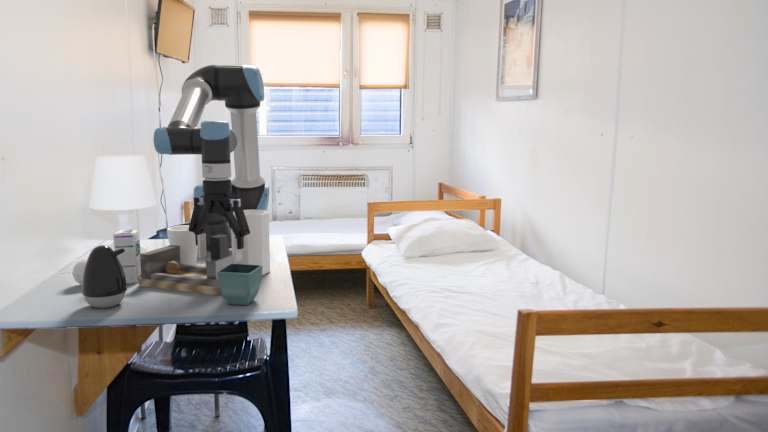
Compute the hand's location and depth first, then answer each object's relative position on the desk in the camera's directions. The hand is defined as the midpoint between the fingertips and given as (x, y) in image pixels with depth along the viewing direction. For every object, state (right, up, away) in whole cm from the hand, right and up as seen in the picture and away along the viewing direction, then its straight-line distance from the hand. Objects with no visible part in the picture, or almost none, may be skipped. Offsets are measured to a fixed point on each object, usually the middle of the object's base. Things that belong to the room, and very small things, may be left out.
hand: (220, 259), depth 168 cm
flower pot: (+9, -10, -12) cm, 18 cm away
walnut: (-15, -3, +6) cm, 17 cm away
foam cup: (-16, -5, +21) cm, 27 cm away
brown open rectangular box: (-8, -7, +4) cm, 12 cm away
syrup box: (-28, -7, +7) cm, 29 cm away
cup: (+5, -5, +17) cm, 19 cm away
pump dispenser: (-24, -11, -15) cm, 31 cm away
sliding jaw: (0, -5, +1) cm, 6 cm away
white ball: (-39, -8, +3) cm, 40 cm away
